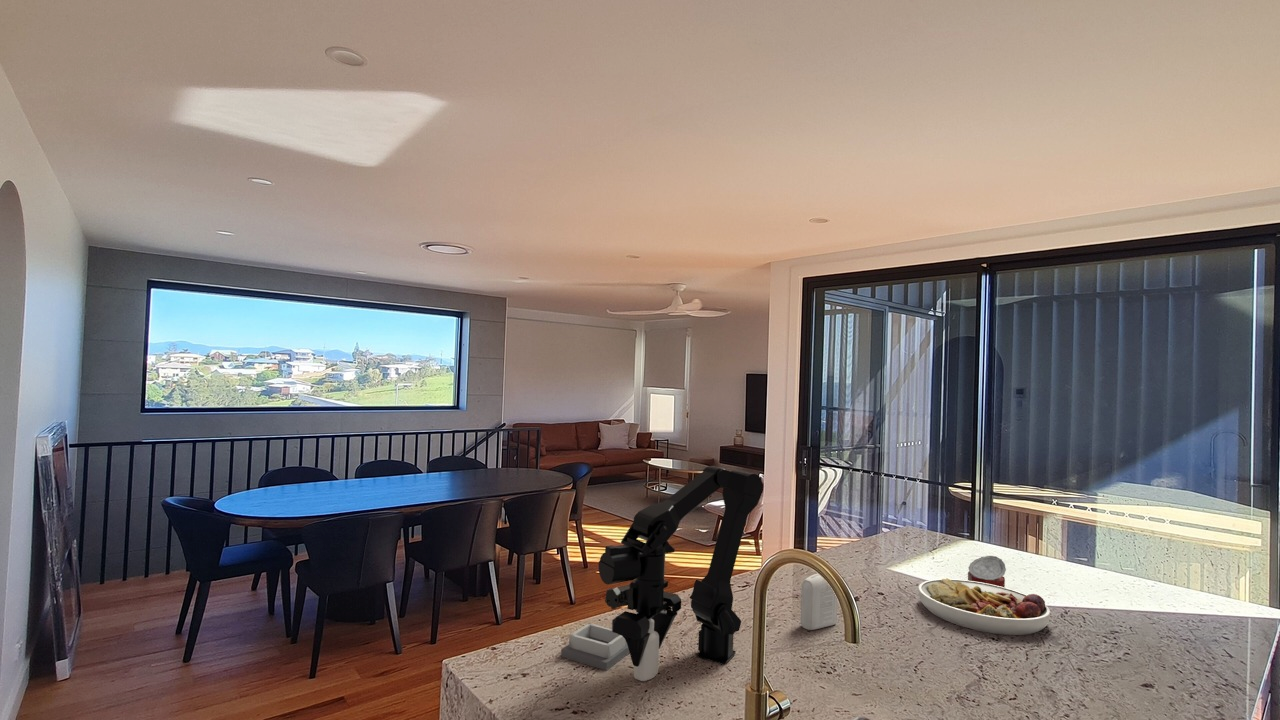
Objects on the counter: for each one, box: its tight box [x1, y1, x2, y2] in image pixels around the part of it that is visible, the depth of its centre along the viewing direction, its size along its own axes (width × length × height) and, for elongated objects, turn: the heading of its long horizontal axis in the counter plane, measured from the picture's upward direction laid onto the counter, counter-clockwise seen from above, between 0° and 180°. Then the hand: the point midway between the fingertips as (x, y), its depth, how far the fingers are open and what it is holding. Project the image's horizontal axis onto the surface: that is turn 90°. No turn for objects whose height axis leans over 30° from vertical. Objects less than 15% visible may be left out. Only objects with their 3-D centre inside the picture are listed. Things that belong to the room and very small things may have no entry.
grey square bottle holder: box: [560, 622, 630, 671], centre depth 127 cm, size 11×11×4 cm
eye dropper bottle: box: [633, 619, 660, 682], centre depth 118 cm, size 4×6×12 cm
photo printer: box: [800, 573, 839, 631], centre depth 148 cm, size 10×4×12 cm, turn 123°
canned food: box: [967, 555, 1007, 588], centre depth 185 cm, size 11×10×10 cm
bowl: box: [917, 578, 1051, 636], centre depth 159 cm, size 30×30×8 cm
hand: (646, 657), depth 118 cm, fingers closed on eye dropper bottle, 8 cm apart
